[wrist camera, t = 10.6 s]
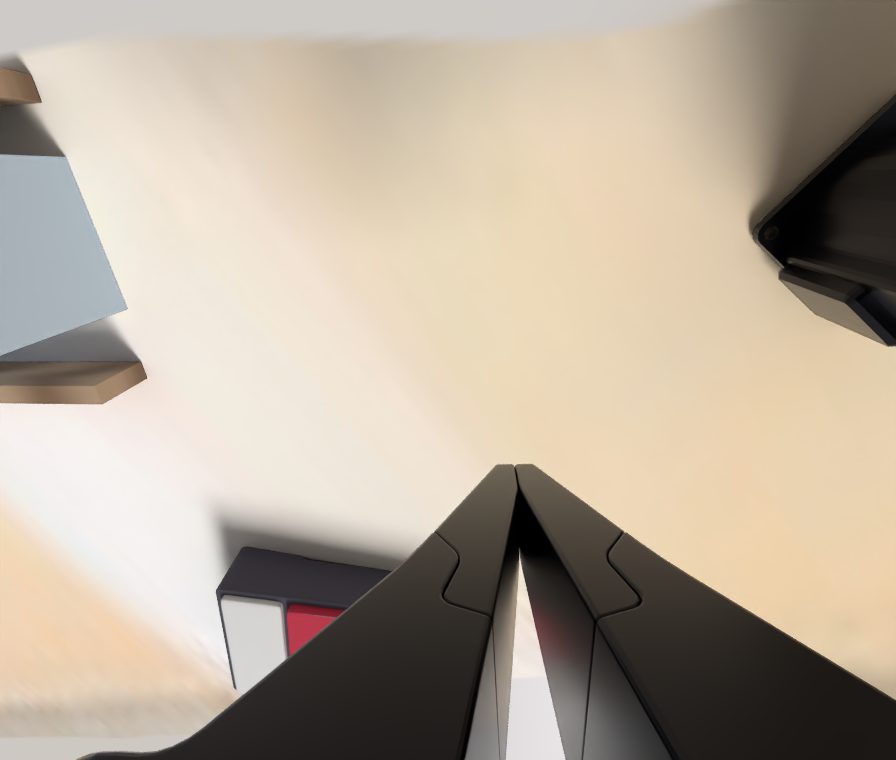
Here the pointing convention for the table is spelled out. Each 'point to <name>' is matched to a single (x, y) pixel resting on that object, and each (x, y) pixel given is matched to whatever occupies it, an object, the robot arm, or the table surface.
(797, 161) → the table surface
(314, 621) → the calculator
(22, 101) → the frame
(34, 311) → the slate box
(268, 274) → the table surface
